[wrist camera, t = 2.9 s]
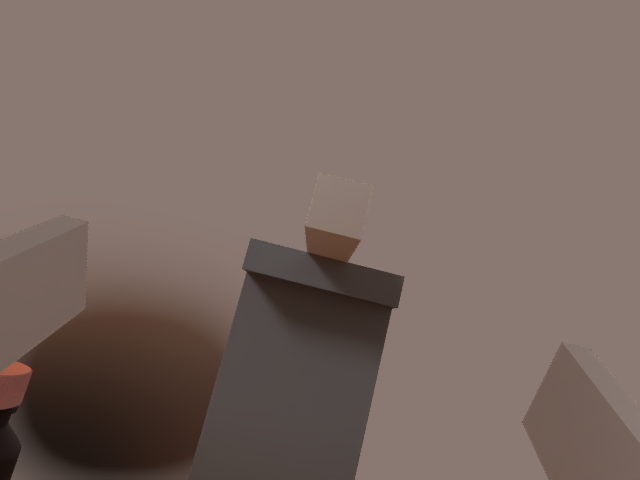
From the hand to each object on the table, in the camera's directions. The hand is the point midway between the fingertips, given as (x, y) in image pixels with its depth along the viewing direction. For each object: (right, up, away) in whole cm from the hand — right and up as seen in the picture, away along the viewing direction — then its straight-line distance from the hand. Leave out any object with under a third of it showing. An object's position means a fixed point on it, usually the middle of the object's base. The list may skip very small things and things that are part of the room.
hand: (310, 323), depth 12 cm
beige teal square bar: (+1, +1, +18) cm, 18 cm away
